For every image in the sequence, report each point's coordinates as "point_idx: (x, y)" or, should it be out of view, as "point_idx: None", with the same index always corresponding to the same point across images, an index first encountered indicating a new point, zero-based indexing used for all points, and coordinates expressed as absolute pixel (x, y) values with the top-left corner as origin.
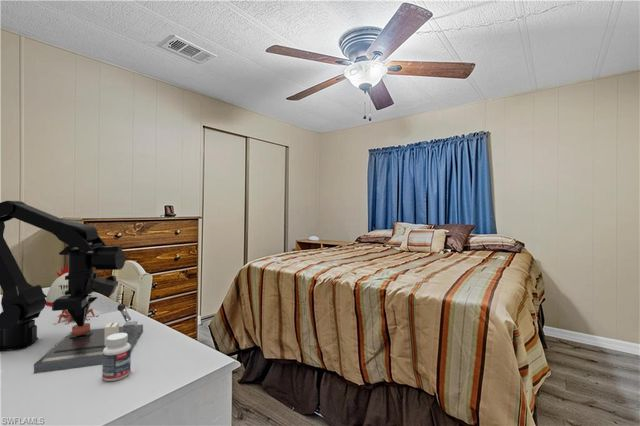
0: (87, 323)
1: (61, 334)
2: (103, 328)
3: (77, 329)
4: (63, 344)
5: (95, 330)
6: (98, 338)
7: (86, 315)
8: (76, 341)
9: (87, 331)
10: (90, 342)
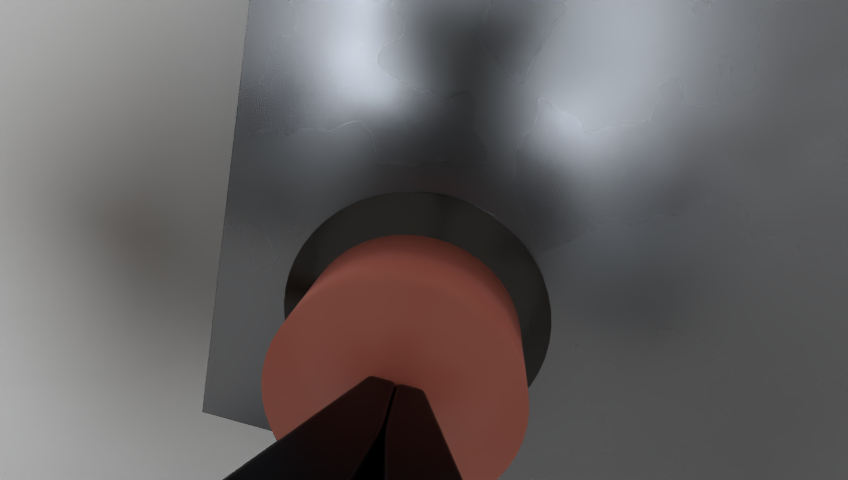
0: (305, 321)
1: (73, 447)
2: (252, 50)
3: (520, 436)
4: (661, 474)
5: (294, 160)
6: (735, 99)
7: (284, 456)
8: (649, 360)
9: (484, 275)
10: (839, 200)
